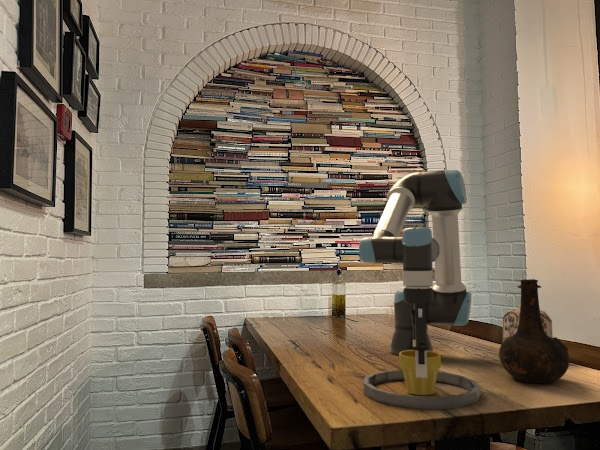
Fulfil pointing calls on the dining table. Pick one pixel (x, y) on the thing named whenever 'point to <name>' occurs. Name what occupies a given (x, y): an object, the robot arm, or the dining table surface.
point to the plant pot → (409, 370)
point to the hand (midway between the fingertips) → (420, 370)
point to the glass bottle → (533, 344)
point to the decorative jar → (513, 320)
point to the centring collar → (422, 401)
